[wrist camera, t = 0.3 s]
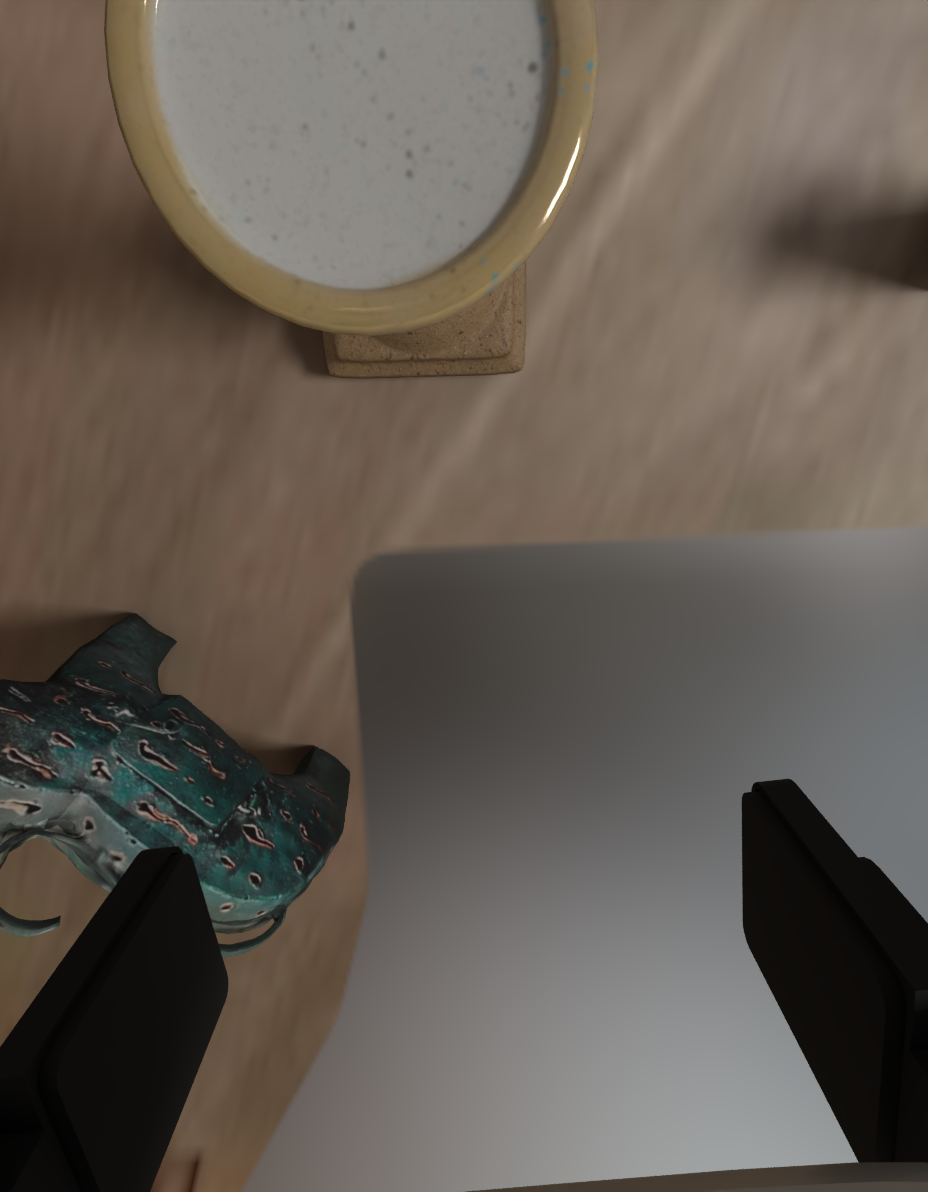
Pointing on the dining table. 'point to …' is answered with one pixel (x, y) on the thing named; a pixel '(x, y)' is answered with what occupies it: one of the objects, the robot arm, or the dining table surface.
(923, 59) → the dining table surface
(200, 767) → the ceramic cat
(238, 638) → the dining table surface
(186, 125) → the candle holder
